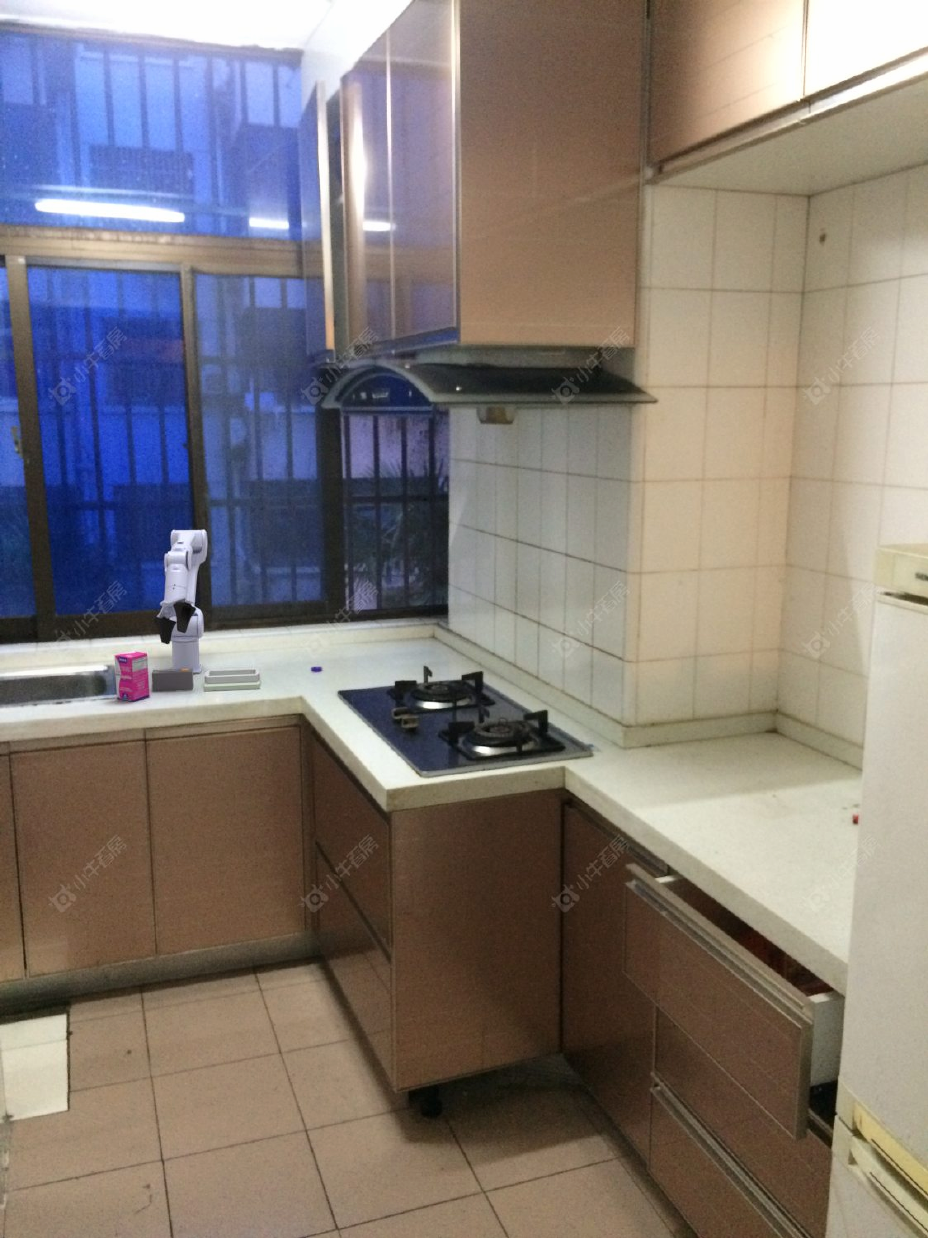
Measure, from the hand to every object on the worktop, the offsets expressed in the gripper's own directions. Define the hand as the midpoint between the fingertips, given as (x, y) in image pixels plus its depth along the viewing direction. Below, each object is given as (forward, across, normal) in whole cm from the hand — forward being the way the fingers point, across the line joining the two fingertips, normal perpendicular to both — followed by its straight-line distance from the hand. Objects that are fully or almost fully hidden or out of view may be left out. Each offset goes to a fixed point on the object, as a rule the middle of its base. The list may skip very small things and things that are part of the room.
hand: (173, 637), depth 263 cm
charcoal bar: (+10, -8, +6) cm, 14 cm away
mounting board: (+8, -1, +19) cm, 20 cm away
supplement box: (+16, -8, -5) cm, 18 cm away
